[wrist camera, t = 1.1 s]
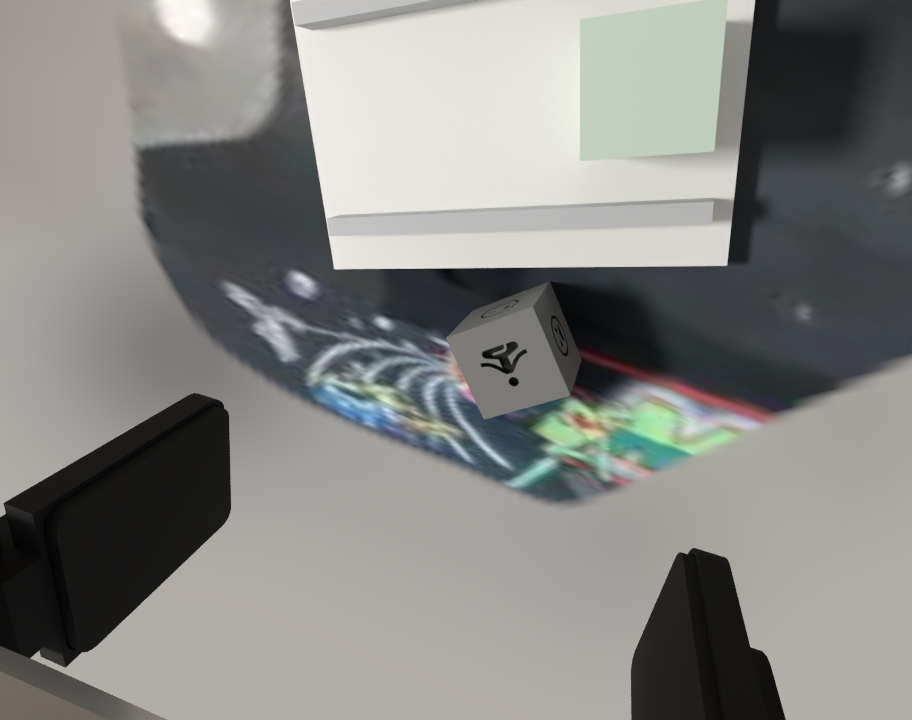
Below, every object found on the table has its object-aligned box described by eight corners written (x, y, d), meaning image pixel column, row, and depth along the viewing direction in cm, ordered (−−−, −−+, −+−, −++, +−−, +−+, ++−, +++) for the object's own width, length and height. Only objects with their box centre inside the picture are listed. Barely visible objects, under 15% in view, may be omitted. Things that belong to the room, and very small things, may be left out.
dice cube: (550, 281, 31) (532, 306, 26) (581, 358, 32) (570, 395, 27) (473, 310, 33) (445, 337, 28) (505, 381, 34) (484, 419, 29)
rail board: (766, -141, 21) (803, -229, 16) (724, 261, 27) (741, 292, 22) (294, -35, 28) (213, -72, 23) (342, 265, 34) (286, 290, 29)
